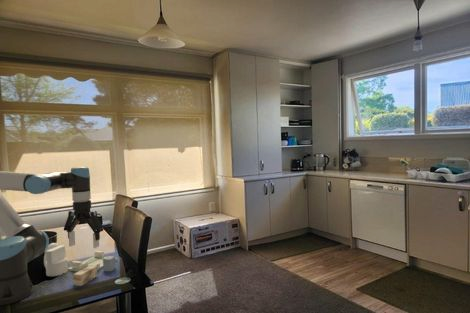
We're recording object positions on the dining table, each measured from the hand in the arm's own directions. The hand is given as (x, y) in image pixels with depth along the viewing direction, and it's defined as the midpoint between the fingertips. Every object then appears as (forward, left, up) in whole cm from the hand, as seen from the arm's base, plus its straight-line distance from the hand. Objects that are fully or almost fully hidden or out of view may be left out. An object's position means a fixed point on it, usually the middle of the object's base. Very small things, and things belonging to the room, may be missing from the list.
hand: (84, 246), depth 138 cm
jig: (+15, +10, -15) cm, 23 cm away
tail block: (+12, -3, -15) cm, 19 cm away
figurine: (+9, +31, -15) cm, 35 cm away
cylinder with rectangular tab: (+3, +21, -15) cm, 26 cm away
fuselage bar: (-1, -1, -15) cm, 15 cm away
